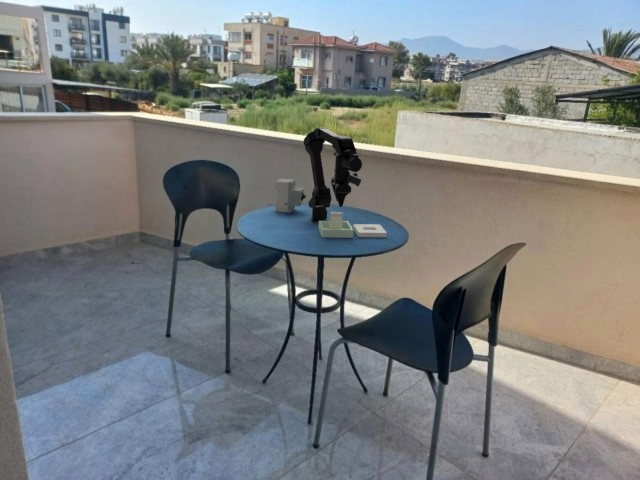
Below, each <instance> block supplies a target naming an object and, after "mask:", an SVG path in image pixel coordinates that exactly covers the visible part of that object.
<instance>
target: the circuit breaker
mask: <svg viewBox="0 0 640 480" xmlns="http://www.w3.org/2000/svg"><path fill="white" fill-rule="evenodd" d="M296 183H297V182H296V179H289V178H278V179H277V180H275V185H274V187H275V188H274V190H275V191H276V201H275V202H274V212H280V213H292V212H293V211H294V210H295V209H296V207H301V206H302V205H303V204H304V203H305V202H304V199H306V198H307V195H306V194H305V188H304V187H300V186H299V187H298V186H296Z"/></svg>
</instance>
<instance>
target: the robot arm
mask: <svg viewBox="0 0 640 480" xmlns="http://www.w3.org/2000/svg"><path fill="white" fill-rule="evenodd" d="M326 142H328V143H329V144H330V145H331V146H332V149H334V150H335V151H334V152H333V156H335V160H334V161H335V162H334V168H333V172H334V176H332V177H331V179H330V183H331V187H332V191H333V193H334V196H335V200H336V202H338V203H337V204H338V206H339V208H342V207H344V206H343V205H344V203H345V199H346V197H347V196H348V195H349V194H350V193H352V186H351V185H350V184H352V185H355V186H356V187H360V184H361V182H362V178H361V177H360V176H358V172H360V171H361V169H362V167H363V163H362V160H361V159H360V158H359V154H357V153H358V152H357V148H356V146H355V144H354V143H355V142H354V141H353V138H352V137H351V136H348V135H339V134H338V133H335V132H334V131H332V130H330V129H328V128H327V127H320V126H319V127H316V128H314V130H313V131H311V132H309V133H307V135H306V136H305V137H304V138H303V145H304V148H305V151H306V153H307V154H308V155H309V158H310V164H311V172H312V179H313V184H314V185H313V186H314V187H313V190H312V192H311V198H310V199H309V201H308V202H307V203H308V207H309V208H311V217H310V219H311V222H318V223H319V221H327V219H328V210H327V208H330V207H331V206H330V205H331V202H332V193H331V188H330V187H327V185H326V181H325V174H324V169H323V162H322V151H323V149H324V144H325V143H326ZM351 172H352V173H351Z"/></svg>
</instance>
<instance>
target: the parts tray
mask: <svg viewBox="0 0 640 480" xmlns="http://www.w3.org/2000/svg"><path fill="white" fill-rule="evenodd" d="M318 231H319V233H320V236H321V238H339V239H340V238H346V239H348V238H349V239H351V238H352V239H353V238H354V232H355V231H354V229H353V227H352V225H351V224H350V222H349V220H342V229H329V220H326V221H319V222H318Z"/></svg>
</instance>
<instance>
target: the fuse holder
mask: <svg viewBox="0 0 640 480" xmlns="http://www.w3.org/2000/svg"><path fill="white" fill-rule="evenodd" d="M352 228H353V230H354V231H353V232H355V234H356V235H357V237H358V238H387V237H388V233H387V231H386V230H385V229H384V227H382V225H381V224H375V223H374V224H373V223H372V224H370V223H368V224H365V223H364V224H362V223H361V224H360V223H359V224H358V223H354V224H353V227H352Z"/></svg>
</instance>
